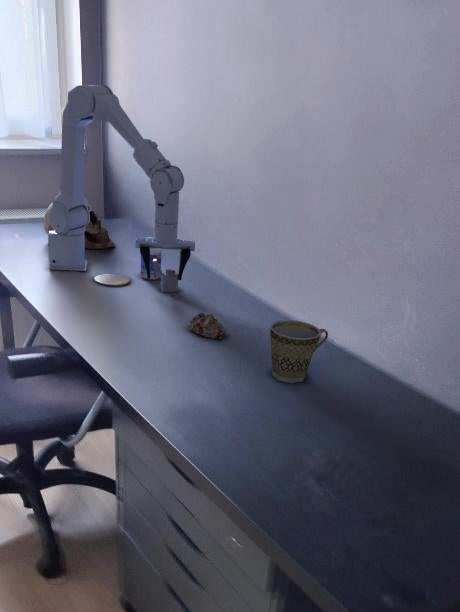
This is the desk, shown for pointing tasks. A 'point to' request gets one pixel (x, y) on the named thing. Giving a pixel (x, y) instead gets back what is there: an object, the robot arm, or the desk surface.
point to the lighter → (166, 278)
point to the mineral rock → (207, 326)
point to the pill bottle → (154, 254)
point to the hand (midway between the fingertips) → (164, 278)
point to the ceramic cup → (293, 348)
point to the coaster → (112, 279)
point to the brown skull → (87, 231)
